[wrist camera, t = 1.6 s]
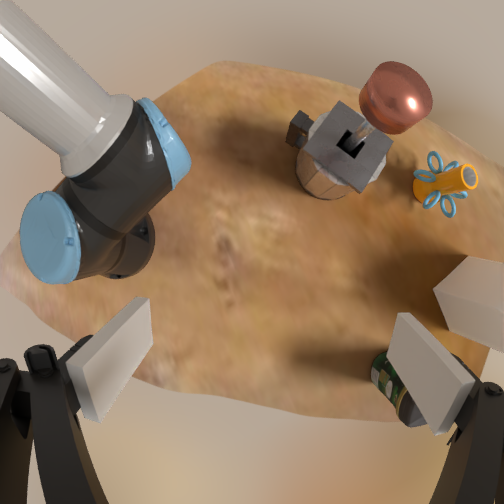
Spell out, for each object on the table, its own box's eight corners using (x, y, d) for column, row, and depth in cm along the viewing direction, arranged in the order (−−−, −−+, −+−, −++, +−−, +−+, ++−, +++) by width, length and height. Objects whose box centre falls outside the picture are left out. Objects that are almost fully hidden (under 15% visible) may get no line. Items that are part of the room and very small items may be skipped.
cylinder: (393, 164, 48) (434, 142, 33) (432, 155, 48) (476, 135, 33) (412, 226, 49) (458, 223, 34) (449, 213, 48) (497, 207, 33)
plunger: (313, 158, 40) (361, 87, 18) (333, 131, 40) (388, 51, 18) (344, 181, 40) (419, 132, 18) (363, 153, 40) (440, 92, 18)
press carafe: (269, 166, 49) (273, 137, 34) (304, 120, 49) (319, 80, 34) (334, 212, 49) (363, 203, 34) (366, 165, 49) (401, 141, 34)
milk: (468, 255, 49) (558, 266, 23) (483, 297, 49) (564, 322, 23) (432, 289, 49) (523, 319, 23) (449, 331, 50) (529, 373, 24)
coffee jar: (413, 345, 50) (463, 382, 31) (407, 378, 50) (450, 422, 32) (371, 351, 50) (413, 396, 32) (366, 385, 51) (402, 437, 32)
